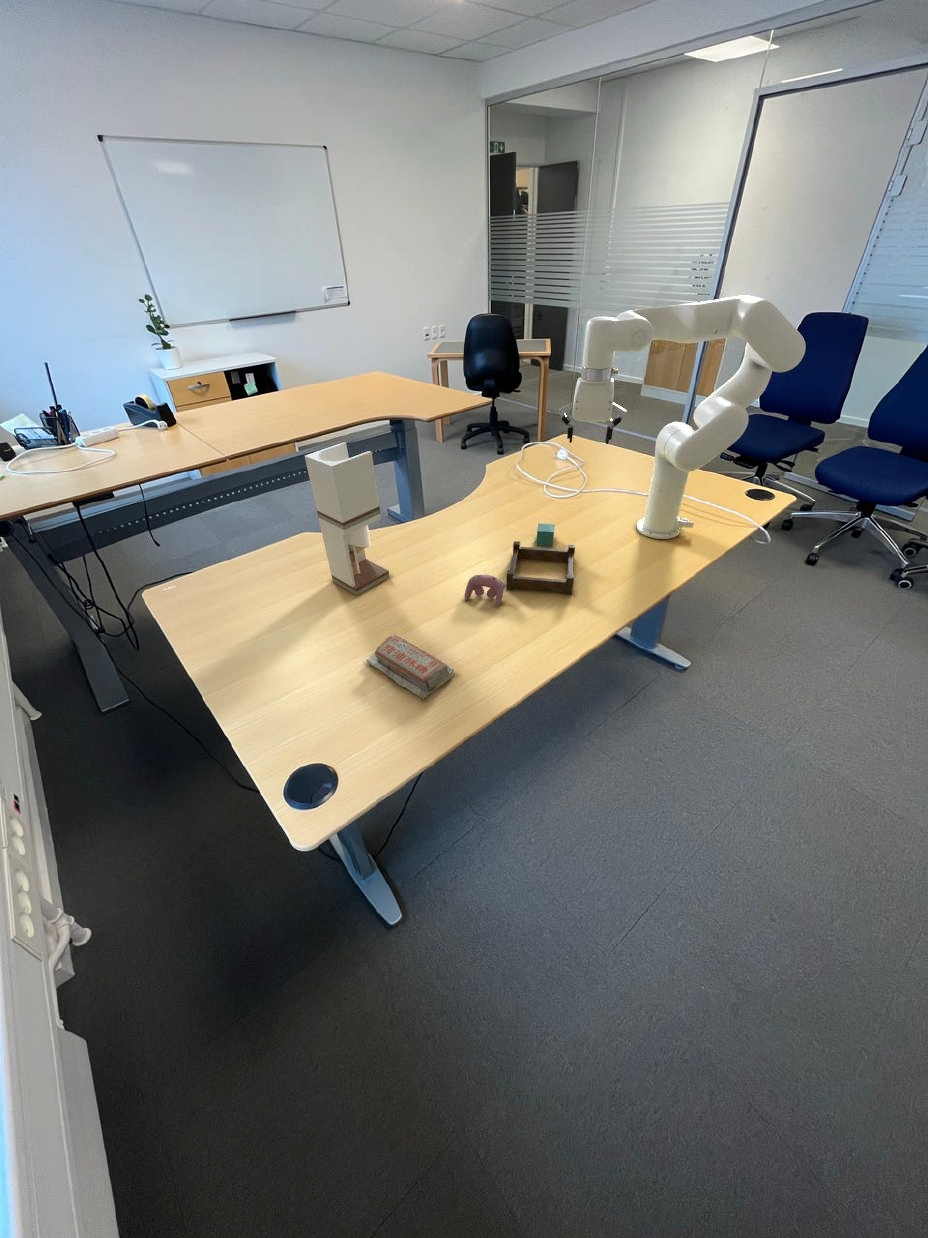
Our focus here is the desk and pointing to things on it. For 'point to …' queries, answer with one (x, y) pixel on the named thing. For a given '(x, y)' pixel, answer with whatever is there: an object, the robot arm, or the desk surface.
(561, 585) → the wooden frame
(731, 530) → the desk surface
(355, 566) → the tall open-top tower
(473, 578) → the video game controller
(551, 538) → the teal block
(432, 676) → the packaged product
